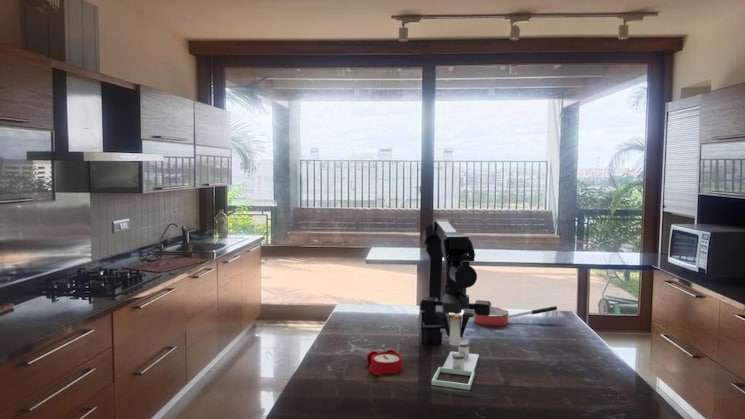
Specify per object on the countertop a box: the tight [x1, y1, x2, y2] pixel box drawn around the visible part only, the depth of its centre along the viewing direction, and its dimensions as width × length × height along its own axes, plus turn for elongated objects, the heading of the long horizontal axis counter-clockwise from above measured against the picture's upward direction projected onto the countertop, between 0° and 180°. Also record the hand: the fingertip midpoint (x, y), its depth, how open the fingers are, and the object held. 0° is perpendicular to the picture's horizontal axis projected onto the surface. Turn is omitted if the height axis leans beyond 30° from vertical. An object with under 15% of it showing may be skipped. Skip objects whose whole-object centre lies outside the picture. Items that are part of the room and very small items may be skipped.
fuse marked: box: [448, 313, 462, 346], centre depth 142 cm, size 3×3×8 cm
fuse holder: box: [442, 341, 480, 371], centre depth 156 cm, size 9×17×5 cm, turn 162°
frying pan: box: [473, 305, 558, 328], centre depth 202 cm, size 32×13×6 cm, turn 97°
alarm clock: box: [366, 349, 405, 377], centre depth 153 cm, size 10×6×15 cm
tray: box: [431, 366, 475, 394], centre depth 142 cm, size 10×10×2 cm
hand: (455, 336), depth 142 cm, fingers closed on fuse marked, 3 cm apart
